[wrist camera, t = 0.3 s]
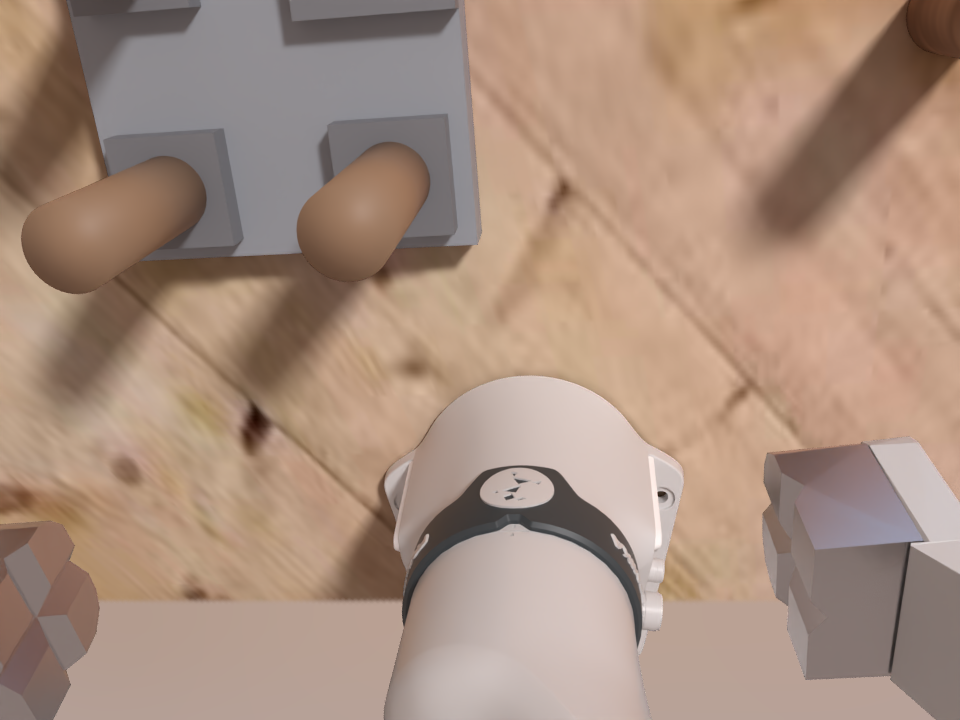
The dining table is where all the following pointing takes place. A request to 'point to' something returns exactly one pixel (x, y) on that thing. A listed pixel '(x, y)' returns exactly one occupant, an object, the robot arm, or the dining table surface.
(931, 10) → the loose leg
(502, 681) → the robot arm
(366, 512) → the dining table surface
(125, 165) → the grey pegged base
